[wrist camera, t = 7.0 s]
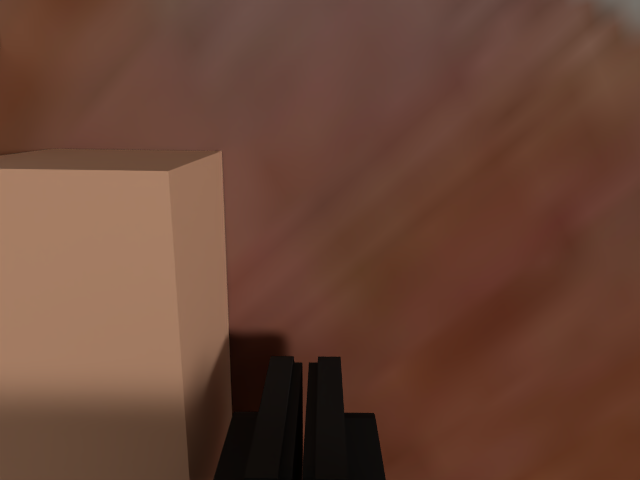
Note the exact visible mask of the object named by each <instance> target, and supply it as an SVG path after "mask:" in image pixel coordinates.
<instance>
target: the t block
mask: <svg viewBox="0 0 640 480" xmlns="http://www.w3.org/2000/svg"><path fill="white" fill-rule="evenodd" d="M231 418H232V399H231V373H230V348H229V322H228V297H227V271H226V246H225V220H224V195H223V170H222V151H188V150H113V149H46V150H38V151H31V152H23V153H16V154H8V155H1V156H0V480H213V478H214V475H215V472H216V468H217V465H218V462H219V458H220V455H221V452H222V448H223V445H224V442H225V438H226V435H227V432H228V428H229V425H230V422H231Z"/></svg>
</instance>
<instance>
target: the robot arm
mask: <svg viewBox="0 0 640 480" xmlns="http://www.w3.org/2000/svg"><path fill="white" fill-rule="evenodd" d="M302 469H303V474H302ZM213 480H386V479H385V473H384V467H383V461H382V455H381V449H380V443H379V437H378V431H377V425H376V419H375V414H374V413H344V404H343V389H342V373H341V358H340V357H318V363H309V372H308V388H307V405H306V422H305V438H304V455H303V387H302V363H297V362H294V356H271V358H270V362H269V366H268V371H267V376H266V380H265V385H264V390H263V394H262V399H261V403H260V408H259V412H234V413H233V416H232V418H231V422H230V425H229V428H228V432H227V435H226V438H225V442H224V445H223V448H222V452H221V455H220V458H219V462H218V465H217V468H216V472H215V475H214V478H213Z"/></svg>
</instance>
